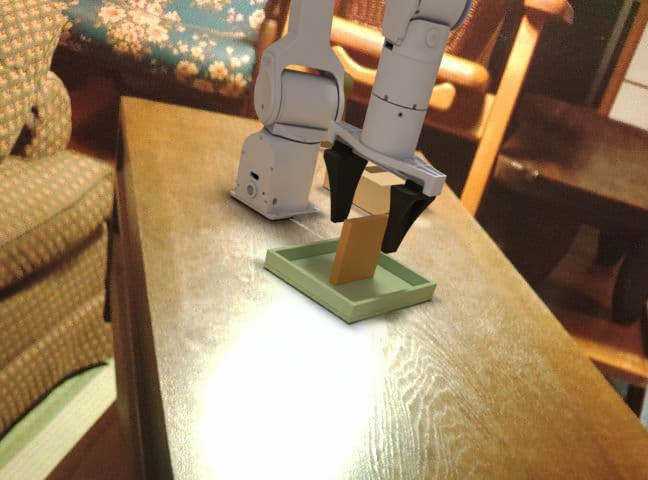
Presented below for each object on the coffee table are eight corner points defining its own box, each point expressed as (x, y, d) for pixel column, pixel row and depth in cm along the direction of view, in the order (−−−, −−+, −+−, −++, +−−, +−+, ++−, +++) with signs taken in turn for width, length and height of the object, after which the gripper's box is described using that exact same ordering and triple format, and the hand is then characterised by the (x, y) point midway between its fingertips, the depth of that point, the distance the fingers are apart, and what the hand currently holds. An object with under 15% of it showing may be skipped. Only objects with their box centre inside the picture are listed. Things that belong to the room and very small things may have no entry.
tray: (349, 323, 78) (354, 305, 76) (263, 266, 83) (266, 249, 81) (431, 299, 88) (437, 283, 86) (351, 250, 93) (355, 234, 91)
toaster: (372, 219, 103) (381, 185, 100) (321, 189, 106) (328, 156, 104) (429, 210, 112) (439, 179, 109) (380, 183, 116) (388, 152, 113)
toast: (335, 286, 82) (351, 223, 78) (328, 281, 83) (344, 219, 78) (373, 277, 87) (390, 217, 82) (366, 272, 87) (383, 213, 83)
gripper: (479, 127, 73) (434, 260, 81) (370, 74, 78) (339, 205, 87) (438, 128, 68) (395, 269, 77) (326, 72, 73) (297, 210, 82)
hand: (362, 236), depth 81 cm, fingers open, 7 cm apart
